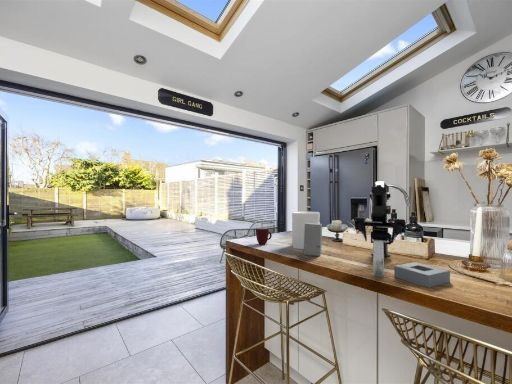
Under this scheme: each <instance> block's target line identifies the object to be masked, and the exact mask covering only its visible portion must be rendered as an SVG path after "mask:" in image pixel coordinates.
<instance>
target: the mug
mask: <svg viewBox="0 0 512 384" xmlns="http://www.w3.org/2000/svg"><path fill="white" fill-rule="evenodd" d="M269 230H270V228H269V227H264V226H263V227H262V226H261V227H256V228H255V236H256V241H257V244H258V245H259V244H260V246H265V244H267V243H268V241H269V240H271V239H272V233H271V231H269Z"/></svg>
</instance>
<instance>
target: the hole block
mask: <svg viewBox="0 0 512 384" xmlns="http://www.w3.org/2000/svg"><path fill="white" fill-rule="evenodd" d="M393 267H394V275H393V276H394V278H397V279H400V280H403V281H405V282H410V283H413V284H416V285H419V286H422V287H425V288H428V289H429V288H434V287H437V286H441V285H444V284H448V283H451V270H449V269H445V268H441V267H438V266H437V267H436V266H433V265H429V264H424V263H421V262H416V261H413V262H407V263H403V264H398V265H394V266H393Z"/></svg>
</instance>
